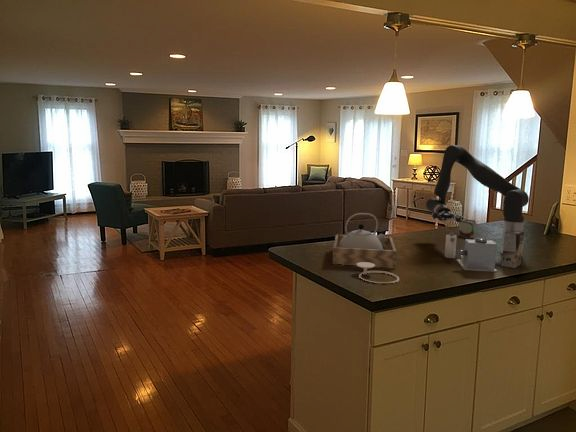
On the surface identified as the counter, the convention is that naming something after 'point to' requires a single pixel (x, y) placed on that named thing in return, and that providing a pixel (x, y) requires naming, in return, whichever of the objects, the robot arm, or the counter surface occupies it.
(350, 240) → the kettle
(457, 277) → the counter surface
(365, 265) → the hand towel holder
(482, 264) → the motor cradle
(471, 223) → the food container
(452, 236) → the white bottle
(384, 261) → the kettle caddy
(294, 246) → the counter surface
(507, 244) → the coffee box
